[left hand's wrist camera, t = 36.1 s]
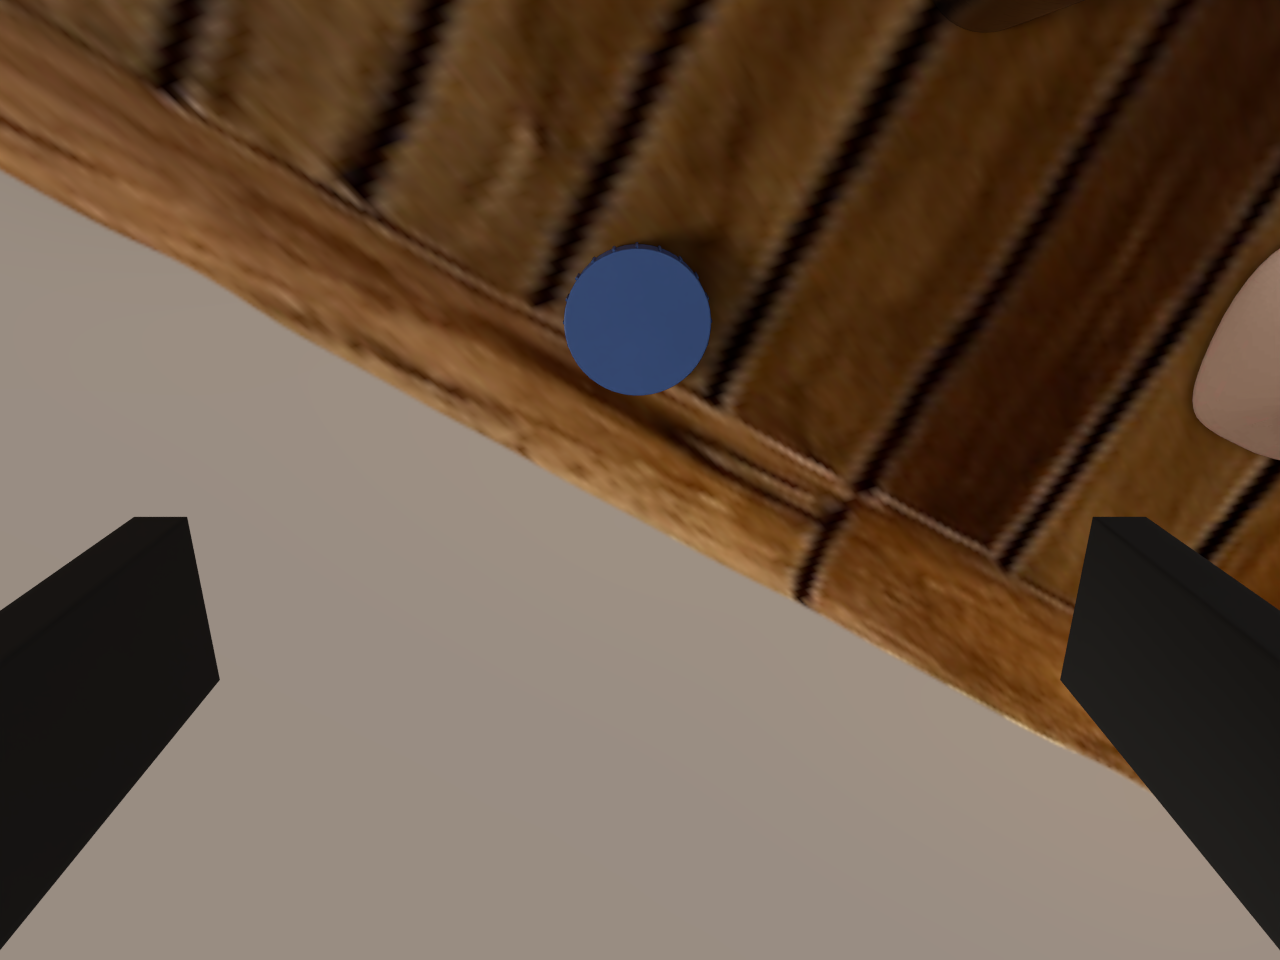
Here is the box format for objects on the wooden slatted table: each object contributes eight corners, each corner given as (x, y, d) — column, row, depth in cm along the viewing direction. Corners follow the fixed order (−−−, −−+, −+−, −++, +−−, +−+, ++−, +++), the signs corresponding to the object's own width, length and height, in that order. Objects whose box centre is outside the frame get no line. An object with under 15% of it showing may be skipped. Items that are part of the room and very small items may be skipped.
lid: (543, 347, 38) (538, 357, 36) (604, 216, 36) (602, 219, 34) (668, 407, 39) (669, 420, 37) (733, 283, 37) (738, 290, 35)
